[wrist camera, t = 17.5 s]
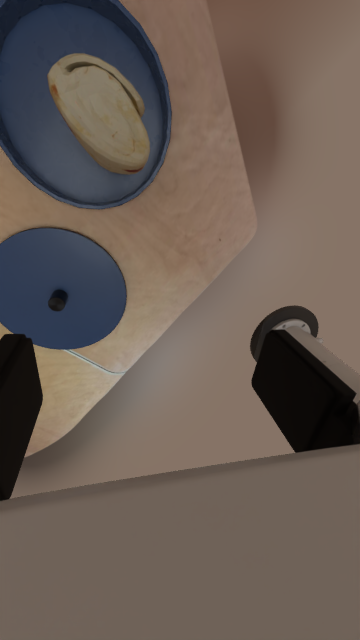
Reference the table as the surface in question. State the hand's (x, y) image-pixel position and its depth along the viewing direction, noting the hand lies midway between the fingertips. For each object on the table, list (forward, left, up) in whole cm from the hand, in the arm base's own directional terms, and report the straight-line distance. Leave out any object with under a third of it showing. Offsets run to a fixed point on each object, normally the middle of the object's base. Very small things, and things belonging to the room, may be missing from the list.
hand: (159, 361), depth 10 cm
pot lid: (+11, +13, -37) cm, 41 cm away
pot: (+5, -13, -38) cm, 40 cm away
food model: (+2, -11, -37) cm, 39 cm away
